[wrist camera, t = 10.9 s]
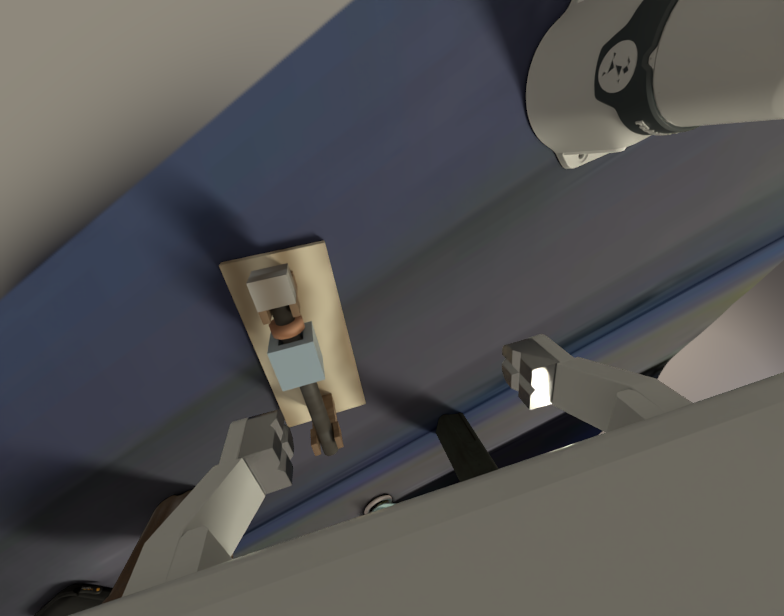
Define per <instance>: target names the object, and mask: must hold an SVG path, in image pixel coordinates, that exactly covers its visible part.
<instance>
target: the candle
mask: <svg viewBox="0 0 784 616" xmlns="http://www.w3.org/2000/svg"><path fill="white" fill-rule="evenodd" d="M436 434H437V436H438V438H439V440H440V442H441V444H442V446H443V448H444V450H445V452H446V454H447V456H448V458H449V460H450V462H451V464H452V466H453V468H454V470H455V472H456V474H457V476H458V478H459V480H460V482H463V481H466V480H469V479H472V478H475V477H477V476H480V475H483V474H486V473H489V472H492V471H495V470H498V467H497V466H496V464H495V463H494V461H493V460H492V458H491V457H490V455H489V453H488V452H487V450H486V449H485V447H484V446H483V444H482V443H481V441H480V439H479V438H478V436H477V435H476V433H475V432H474V430H473V429H472V427H471V425H470V424H469V422H468V421H467V419H466V418H465V416H464V415H463V414H462V413H458V414H451V415H447V414H444V415H442V416H441V417H440V418H439V421H438V425H437V429H436Z"/></svg>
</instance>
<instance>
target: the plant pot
mask: <svg viewBox="0 0 784 616" xmlns="http://www.w3.org/2000/svg"><path fill="white" fill-rule="evenodd" d="M191 491H192V490H190V491H187V492H185V493H184V494H182V495H179V496H176V495H173V496H171V497H169V498H167V499H166V500H164V501H163V502H162V503H160V504H159V505H158V507H157V508H156V509H155V511H154V512H153V514H152V516H151V518H150V520H149V522H148V524H147V526H146V528H145V529H144V531H143V533H142V535H141V537H140V539H139V541H138V543H137V545H136V546H135V548H134V550H133V552H132V554H131V556H130V558H129V560H128V562H127V563H126V565H125V567H124V569H123V571H122V573H121V574H120V576H119V578H118V580H117V582H116V584H115V585H114V587H113V589H112V591H111V593H110V595H109V596H108V597H107V598H106V599H105V600H104V601H103V603H106V602H109V601H112V600H115V599H118V598H121V597H122V596H123V593H124V591H125V589H126V586H127V584H128V582H129V579H130V577H131V574H132V572H133V570H134V567H135V565H136V563H137V560H138V558H139V555H140V553H141V551H142V548H143V546H144V544H145V542H146V541H147V540H148V539H149V538H150V537H151V536H152V534H153V533H154V532H155V531H156V530H157V529H158V528H159V527H160V526H161V524H162V523H163V522H164V521H165V520H166V519H167V518H168V517H169V516H170V514H171V513H172V512H173V511H174V510H175V509H176V508H177V507H178V506H179V504H180V503H181V502H182V501H183V500H184V499H185V498H186V497H187V495H188V494H189V493H190V492H191ZM231 558H232V559H233V554H232V556H231ZM103 603H102V604H103Z"/></svg>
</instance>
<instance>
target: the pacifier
mask: <svg viewBox="0 0 784 616" xmlns="http://www.w3.org/2000/svg"><path fill="white" fill-rule="evenodd" d="M382 500H388V501H383V502H381V503H380V504H378V505H377V506H376V508H375V509H374V510H373V511H372V512H374V511H377V510H380V509H383V508H386V507H389V506H392V505H395V503H391V502H392V497H391V496H390V495H383V496H380V497H378V498H376V499H374V500H373V501H371V502H370V503H369V504H368V505H367V507H366V508H365V511H364V514H368V513H371V512H369V510H370V509H371V507H372V506H373V505H375V504H376V503H378V502H380V501H382Z"/></svg>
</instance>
